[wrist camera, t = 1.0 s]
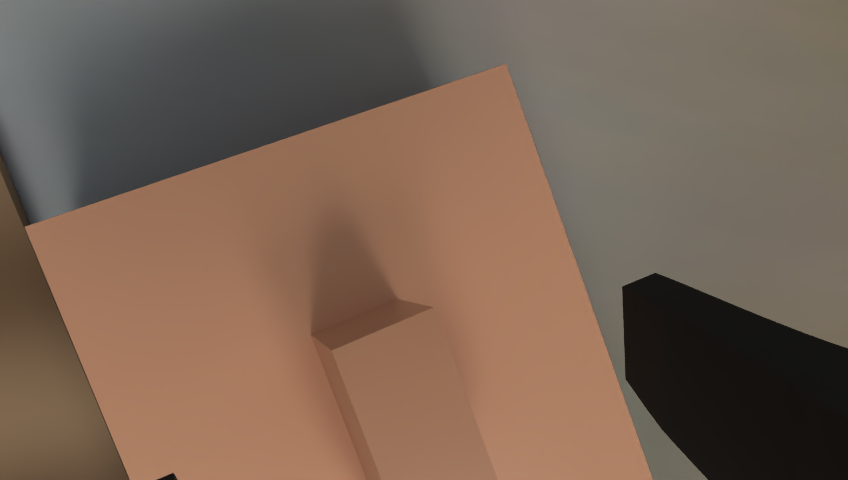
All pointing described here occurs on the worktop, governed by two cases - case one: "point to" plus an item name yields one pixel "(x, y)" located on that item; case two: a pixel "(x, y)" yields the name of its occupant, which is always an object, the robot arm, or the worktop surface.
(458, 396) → the lid
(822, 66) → the worktop surface
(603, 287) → the worktop surface
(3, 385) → the cutting board
